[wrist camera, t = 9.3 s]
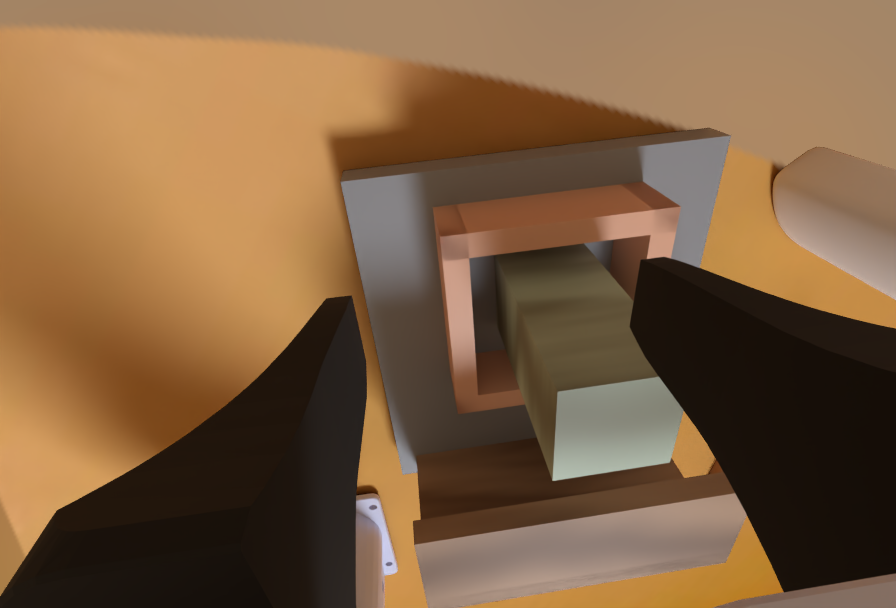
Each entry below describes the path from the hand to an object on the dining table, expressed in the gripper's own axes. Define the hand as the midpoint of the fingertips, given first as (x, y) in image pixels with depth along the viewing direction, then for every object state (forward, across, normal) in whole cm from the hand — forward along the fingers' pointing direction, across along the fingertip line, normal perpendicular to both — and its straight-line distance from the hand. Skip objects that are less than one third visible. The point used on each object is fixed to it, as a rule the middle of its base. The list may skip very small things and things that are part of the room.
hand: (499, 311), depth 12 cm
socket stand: (+10, -4, +8) cm, 13 cm away
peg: (+9, -4, +5) cm, 11 cm away
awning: (+9, -4, +14) cm, 17 cm away
